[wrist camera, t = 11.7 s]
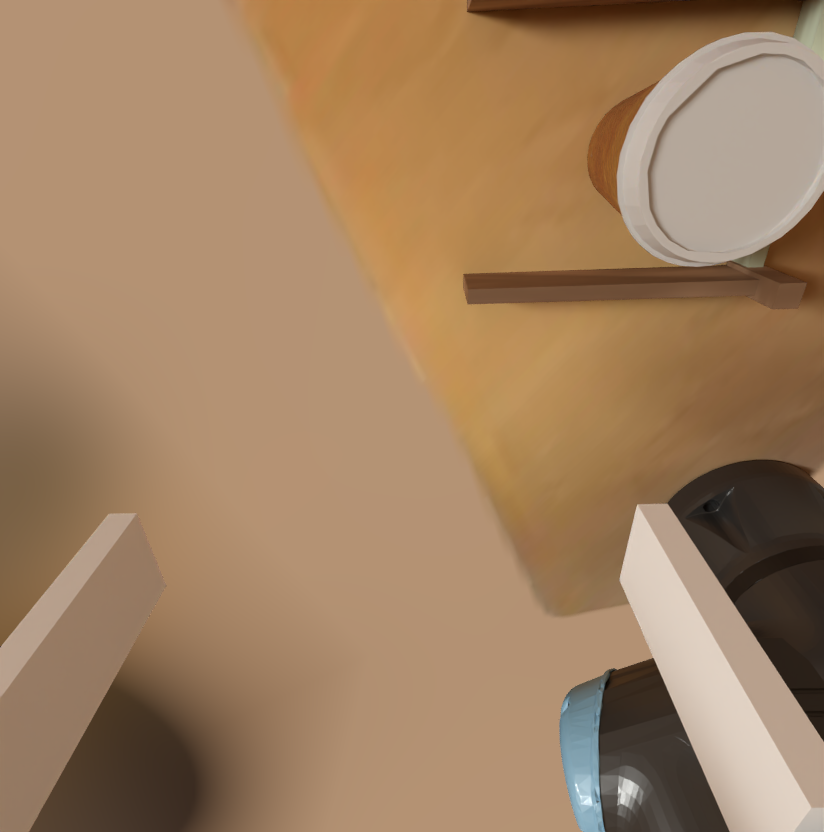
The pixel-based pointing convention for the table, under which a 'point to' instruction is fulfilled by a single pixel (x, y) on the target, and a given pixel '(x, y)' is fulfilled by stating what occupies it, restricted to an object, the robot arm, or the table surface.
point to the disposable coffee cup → (717, 150)
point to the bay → (744, 276)
